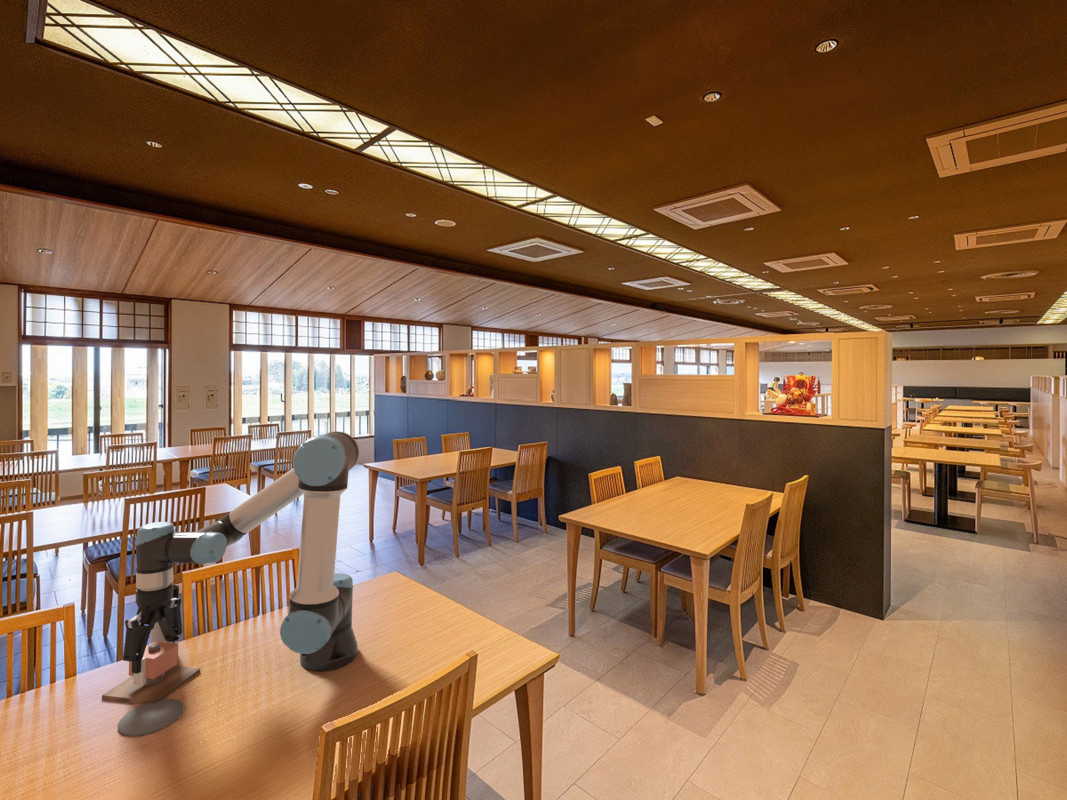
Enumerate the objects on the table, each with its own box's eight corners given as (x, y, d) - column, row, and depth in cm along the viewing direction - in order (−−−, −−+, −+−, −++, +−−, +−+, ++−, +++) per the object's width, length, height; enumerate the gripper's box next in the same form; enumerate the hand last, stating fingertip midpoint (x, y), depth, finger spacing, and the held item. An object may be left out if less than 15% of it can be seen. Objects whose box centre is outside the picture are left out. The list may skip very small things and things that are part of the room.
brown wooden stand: (200, 672, 133) (200, 646, 133) (154, 705, 119) (155, 676, 119) (152, 667, 135) (152, 641, 135) (101, 699, 121) (102, 670, 121)
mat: (196, 704, 120) (196, 701, 120) (152, 739, 108) (153, 736, 108) (150, 698, 122) (150, 696, 122) (102, 732, 110) (103, 730, 110)
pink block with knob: (177, 663, 130) (178, 640, 130) (153, 679, 123) (153, 654, 123) (154, 660, 131) (154, 637, 131) (128, 675, 124) (129, 651, 124)
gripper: (175, 569, 137) (174, 652, 137) (102, 600, 117) (101, 697, 118) (200, 572, 136) (199, 655, 136) (130, 603, 116) (129, 701, 117)
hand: (153, 674), depth 127 cm, fingers closed on pink block with knob, 7 cm apart
